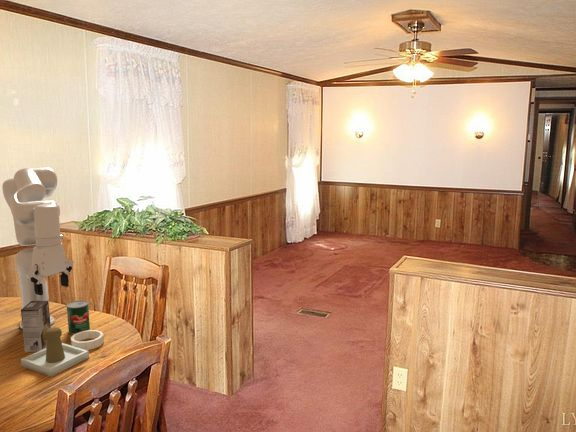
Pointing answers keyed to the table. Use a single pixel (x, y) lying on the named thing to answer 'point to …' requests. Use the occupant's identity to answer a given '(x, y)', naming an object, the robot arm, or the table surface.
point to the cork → (54, 345)
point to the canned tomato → (78, 316)
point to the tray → (50, 369)
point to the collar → (88, 334)
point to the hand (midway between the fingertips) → (52, 290)
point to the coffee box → (35, 325)
